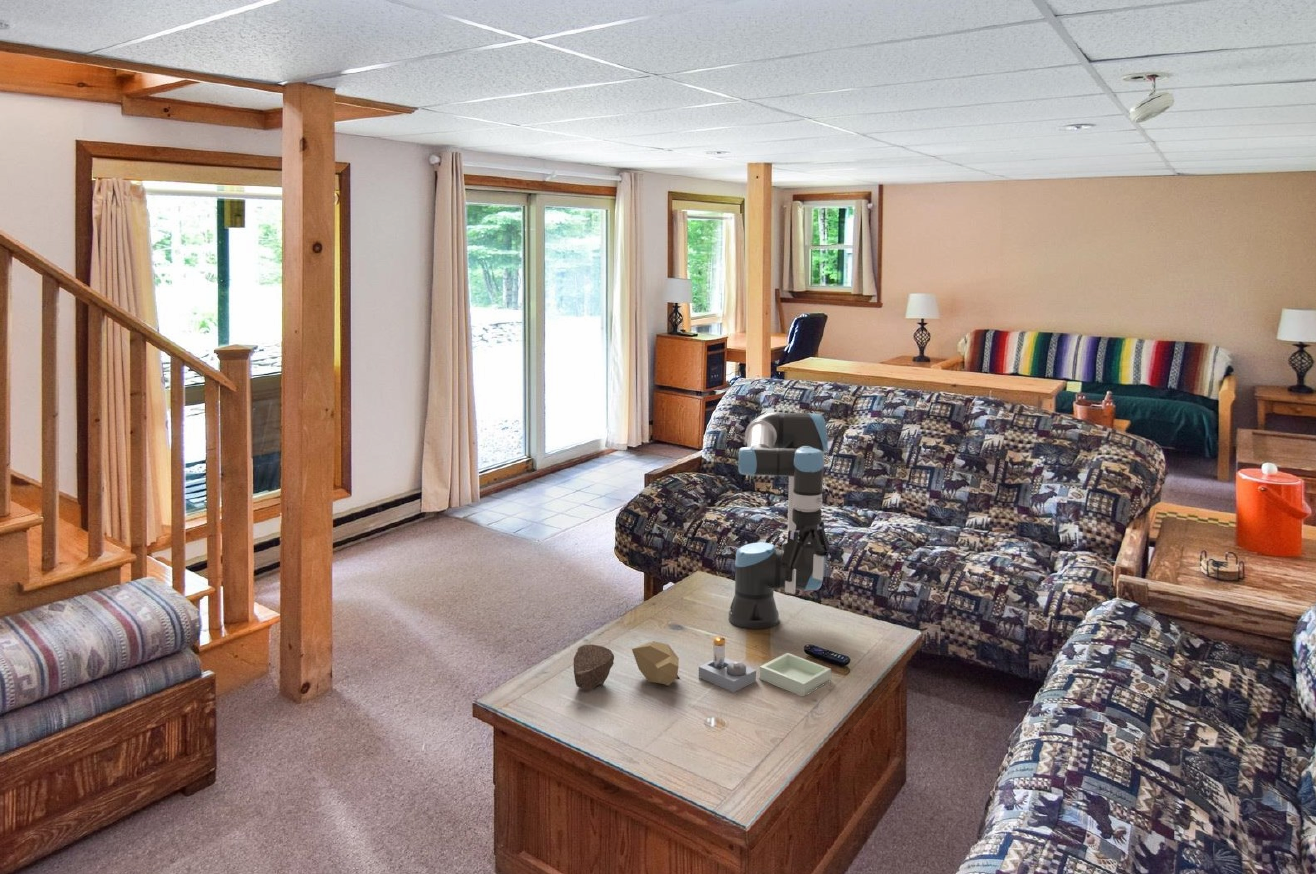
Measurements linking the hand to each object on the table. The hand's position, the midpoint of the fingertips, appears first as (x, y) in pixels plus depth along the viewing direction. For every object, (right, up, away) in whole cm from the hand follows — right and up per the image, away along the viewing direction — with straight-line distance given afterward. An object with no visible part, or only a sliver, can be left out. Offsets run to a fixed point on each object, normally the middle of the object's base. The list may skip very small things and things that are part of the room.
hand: (804, 585), depth 248 cm
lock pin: (-23, -24, 0) cm, 33 cm away
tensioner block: (-20, -24, -2) cm, 32 cm away
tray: (-3, -24, -3) cm, 25 cm away
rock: (-56, -25, -7) cm, 62 cm away
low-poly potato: (-38, -25, -4) cm, 46 cm away
